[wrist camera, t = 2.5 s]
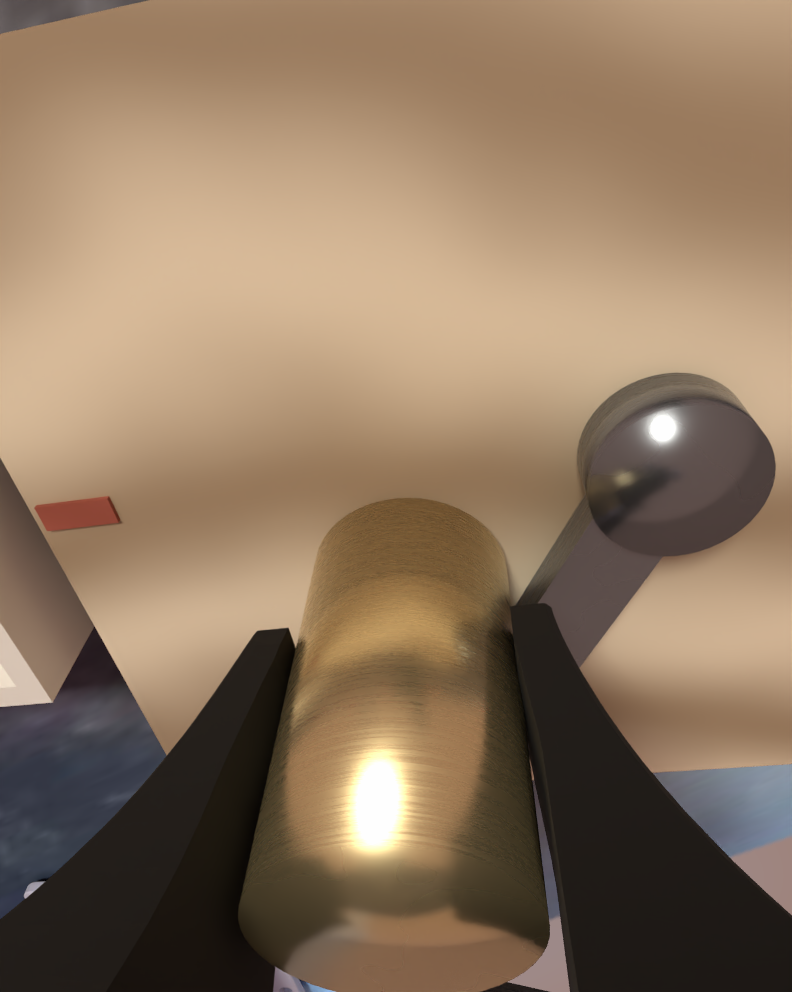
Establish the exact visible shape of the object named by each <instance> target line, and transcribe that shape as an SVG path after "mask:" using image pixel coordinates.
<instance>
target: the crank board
mask: <svg viewBox="0 0 792 992" xmlns="http://www.w3.org/2000/svg"><path fill="white" fill-rule="evenodd" d="M665 373H691V374H697V375H701V376H705V377H708V378H711V379H713V380H715V381H717V382H719V383H721V384H722V385H724V386H725V387H727V388H728V389H729V390H730V391H732V392H733V393H734V394H735V395H736V396H737V398H738V399H739V400H740V402H741V403H742V404H743V406H744V407H745V408H746V410H747V411H748V412H749V414H750V415H751V416H752V418H753V419H754V420H755V422H756V423H757V424H758V426H759V427H760V429H761V430H762V431H763V433H764V434H765V435H766V437H767V438H768V440H769V442H770V444H771V446H772V449H773V452H774V455H775V463H776V471H775V479H774V484H773V487H772V490H771V492H770V495H769V497H768V499H767V501H766V502H765V504H764V506H763V507H762V509H761V510H760V511H759V513H758V514H757V515H756V516H755V517H754V518H753V520H752V521H751V522H750V523H749V524H747V525H746V526H745V527H744V528H743V529H742V530H740V531H739V532H738V533H736V534H735V535H733V536H732V537H730V538H729V539H727V540H725V541H723V542H722V543H720V544H717V545H715V546H713V547H711V548H708V549H705V550H702V551H699V552H695V553H691V554H686V555H680V556H666V557H664V556H663V557H662V559H661V560H660V561H659V563H658V564H657V565H656V567H655V568H654V569H653V571H652V572H651V573H650V575H649V576H648V577H647V579H646V580H645V581H644V583H643V584H642V585H641V587H640V588H639V589H638V591H637V592H636V593H635V595H634V596H633V597H632V599H631V600H630V601H629V603H628V604H627V605H626V607H625V608H624V609H623V611H622V612H621V613H620V615H619V616H618V617H617V619H616V620H615V621H614V623H613V624H612V625H611V627H610V628H609V629H608V631H607V632H606V633H605V635H604V636H603V637H602V639H601V640H600V641H599V643H598V644H597V645H596V647H595V648H594V649H593V651H592V652H591V653H590V655H589V656H588V657H587V659H586V660H585V661H584V663H583V664H582V665H581V667H580V670H581V672H582V674H583V675H584V677H585V678H586V680H587V682H588V683H589V685H590V687H591V688H592V690H593V691H594V693H595V695H596V696H597V698H598V699H599V701H600V703H601V704H602V706H603V707H604V709H605V710H606V712H607V713H608V715H609V716H610V717H611V719H612V720H613V722H614V723H615V725H616V726H617V727H618V729H619V730H620V732H621V733H622V734H623V736H624V737H625V739H626V740H627V741H628V743H629V744H630V745H631V747H632V748H633V749H634V751H635V752H636V753H637V754H638V756H639V757H640V758H641V760H642V761H643V762H644V763H645V765H646V766H647V767H648V768H649V770H650V771H651V772H652V773H656V772H672V771H688V770H704V769H720V768H736V767H752V766H768V765H784V764H792V0H149V1H144V2H140V3H135V4H131V5H126V6H122V7H118V8H113V9H109V10H104V11H100V12H96V13H91V14H87V15H82V16H78V17H73V18H69V19H65V20H60V21H56V22H51V23H47V24H42V25H38V26H34V27H29V28H25V29H20V30H16V31H11V32H7V33H3V34H0V458H1V460H2V462H3V463H4V465H5V467H6V469H7V471H8V472H9V474H10V476H11V478H12V480H13V481H14V483H15V485H16V487H17V488H18V490H19V492H20V494H21V496H22V497H23V499H24V501H25V503H26V505H27V506H28V508H29V510H30V512H31V513H32V515H33V517H34V519H35V521H36V522H37V524H38V526H39V528H40V530H41V531H42V533H43V535H44V537H45V538H46V540H47V542H48V544H49V546H50V547H51V549H52V551H53V553H54V555H55V556H56V558H57V560H58V562H59V563H60V565H61V567H62V569H63V571H64V572H65V574H66V576H67V578H68V580H69V581H70V583H71V585H72V587H73V589H74V590H75V592H76V594H77V596H78V597H79V599H80V601H81V603H82V605H83V606H84V608H85V610H86V612H87V614H88V615H89V617H90V619H91V621H92V622H93V624H94V626H95V628H96V630H97V631H98V633H99V635H100V637H101V639H102V640H103V642H104V644H105V646H106V647H107V649H108V651H109V653H110V655H111V656H112V658H113V660H114V662H115V664H116V665H117V667H118V669H119V671H120V672H121V674H122V676H123V678H124V680H125V681H126V683H127V685H128V687H129V689H130V690H131V692H132V694H133V696H134V698H135V699H136V701H137V703H138V705H139V706H140V708H141V710H142V712H143V714H144V715H145V717H146V719H147V721H148V723H149V724H150V726H151V728H152V730H153V731H154V733H155V735H156V737H157V739H158V740H159V742H160V744H161V746H162V748H163V749H164V751H165V753H166V755H168V753H169V752H170V751H171V750H172V748H173V747H174V746H175V745H176V743H177V742H178V741H179V740H180V738H181V737H182V736H183V734H184V733H185V732H186V731H187V729H188V728H189V727H190V725H191V724H192V723H193V721H194V720H195V718H196V717H197V716H198V714H199V713H200V711H201V710H202V709H203V707H204V706H205V705H206V703H207V702H208V700H209V699H210V698H211V696H212V695H213V693H214V692H215V691H216V689H217V688H218V686H219V685H220V683H221V682H222V680H223V679H224V678H225V676H226V675H227V673H228V672H229V670H230V669H231V667H232V666H233V664H234V663H235V661H236V660H237V658H238V657H239V655H240V654H241V653H242V651H243V650H244V648H245V647H246V645H247V644H248V642H249V641H250V639H251V638H252V636H253V635H254V634H255V633H256V631H259V630H269V629H280V628H289V630H290V633H291V636H292V639H293V642H294V644H295V647H296V645H297V640H298V636H299V631H300V627H301V622H302V618H303V613H304V609H305V604H306V600H307V595H308V591H309V586H310V582H311V577H312V573H313V568H314V563H315V559H316V555H317V552H318V549H319V547H320V544H321V542H322V540H323V539H324V537H325V536H326V534H327V533H328V532H329V530H330V529H331V528H332V527H333V526H334V525H335V524H336V523H337V522H338V521H340V520H341V519H342V518H343V517H345V516H346V515H348V514H350V513H351V512H353V511H355V510H356V509H359V508H361V507H363V506H366V505H368V504H372V503H375V502H378V501H383V500H388V499H395V498H421V499H428V500H434V501H438V502H441V503H445V504H448V505H451V506H453V507H456V508H458V509H460V510H462V511H464V512H466V513H468V514H470V515H471V516H472V517H474V518H475V519H477V520H478V521H479V522H481V523H482V524H483V525H484V526H485V527H486V528H487V529H488V530H489V531H490V532H491V534H492V535H493V536H494V537H495V539H496V540H497V542H498V544H499V545H500V547H501V549H502V552H503V554H504V557H505V562H506V566H507V574H508V582H509V591H510V599H511V606H515V605H516V604H517V602H518V600H519V599H520V597H521V596H522V594H523V592H524V591H525V589H526V588H527V586H528V584H529V583H530V581H531V580H532V578H533V577H534V575H535V573H536V572H537V570H538V569H539V567H540V565H541V564H542V562H543V561H544V559H545V557H546V556H547V554H548V553H549V551H550V549H551V548H552V546H553V545H554V543H555V541H556V540H557V538H558V537H559V535H560V533H561V532H562V530H563V529H564V527H565V526H566V524H567V522H568V521H569V519H570V518H571V516H572V514H573V513H574V511H575V510H576V508H577V506H578V505H579V503H580V502H581V500H582V498H583V497H584V495H585V490H584V487H583V484H582V480H581V477H580V473H579V470H578V464H577V449H578V444H579V440H580V437H581V434H582V431H583V429H584V427H585V425H586V423H587V422H588V420H589V419H590V417H591V416H592V414H593V413H594V412H595V411H596V410H597V408H598V407H599V406H600V405H601V404H602V403H603V402H604V401H605V400H607V399H608V398H609V397H610V396H611V395H613V394H614V393H616V392H617V391H618V390H620V389H622V388H624V387H625V386H627V385H629V384H631V383H633V382H636V381H638V380H640V379H644V378H647V377H650V376H654V375H659V374H665ZM529 758H530V757H529ZM530 766H531V762H530ZM531 774H532V780H534V775H533V771H532V766H531Z"/></svg>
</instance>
